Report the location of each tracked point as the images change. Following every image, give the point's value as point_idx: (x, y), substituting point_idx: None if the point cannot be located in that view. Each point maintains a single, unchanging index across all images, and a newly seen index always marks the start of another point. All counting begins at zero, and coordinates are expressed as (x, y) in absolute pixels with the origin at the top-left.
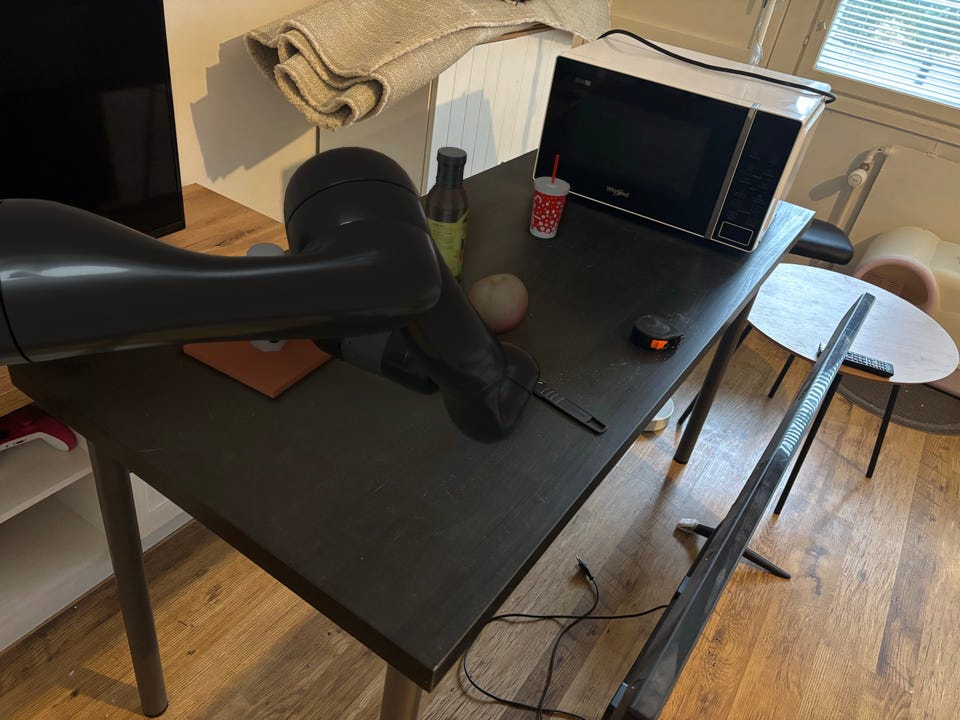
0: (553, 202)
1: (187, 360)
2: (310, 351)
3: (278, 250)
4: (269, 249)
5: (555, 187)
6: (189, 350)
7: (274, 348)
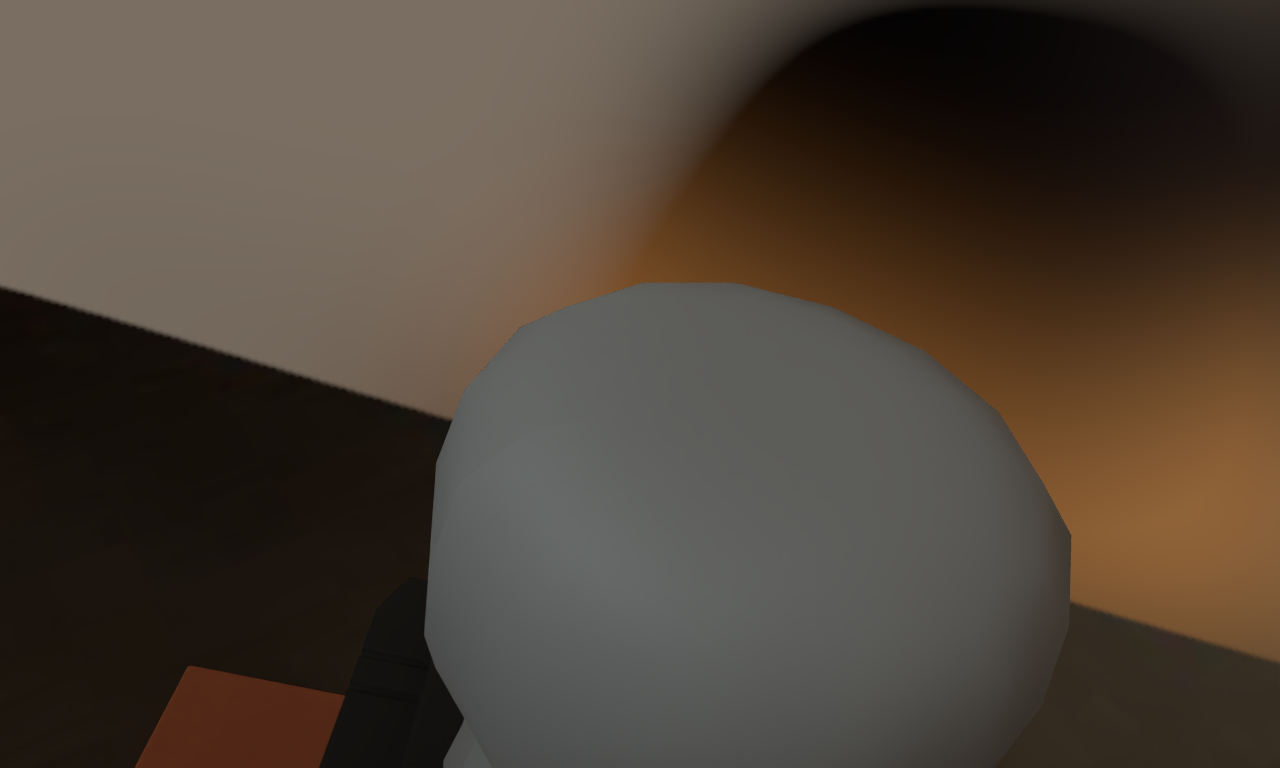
0: None
1: (108, 759)
2: None
3: (918, 570)
4: (802, 448)
5: None
6: (160, 718)
7: None
